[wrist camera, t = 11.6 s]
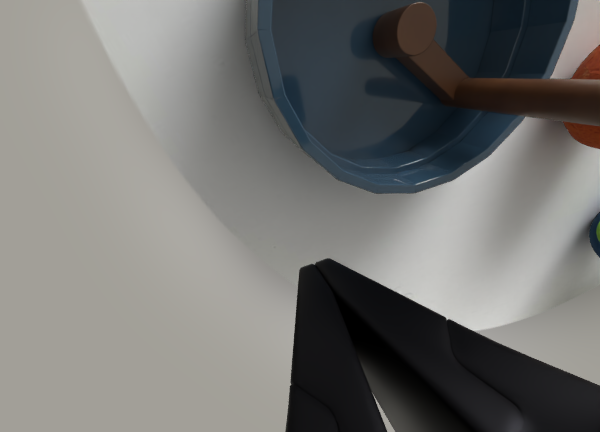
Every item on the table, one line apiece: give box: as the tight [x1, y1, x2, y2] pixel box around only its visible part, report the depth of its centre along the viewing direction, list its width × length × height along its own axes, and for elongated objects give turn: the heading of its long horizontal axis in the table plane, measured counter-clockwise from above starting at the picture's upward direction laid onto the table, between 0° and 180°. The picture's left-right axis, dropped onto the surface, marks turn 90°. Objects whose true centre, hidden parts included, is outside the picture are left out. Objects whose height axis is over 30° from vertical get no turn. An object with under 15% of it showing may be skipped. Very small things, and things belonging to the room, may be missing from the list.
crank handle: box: [373, 2, 600, 126], centre depth 14 cm, size 2×8×10 cm, turn 57°
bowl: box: [245, 0, 579, 194], centre depth 16 cm, size 17×17×5 cm
